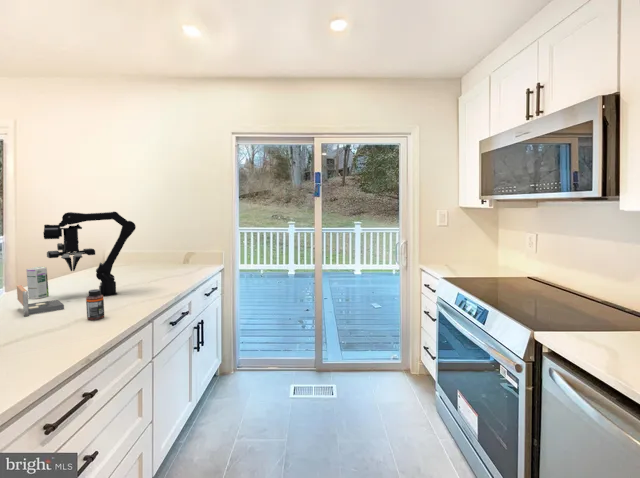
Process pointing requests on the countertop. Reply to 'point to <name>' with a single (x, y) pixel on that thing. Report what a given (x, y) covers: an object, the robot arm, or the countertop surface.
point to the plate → (40, 306)
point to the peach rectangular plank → (20, 293)
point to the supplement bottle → (95, 305)
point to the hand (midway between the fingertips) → (72, 270)
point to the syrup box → (37, 282)
